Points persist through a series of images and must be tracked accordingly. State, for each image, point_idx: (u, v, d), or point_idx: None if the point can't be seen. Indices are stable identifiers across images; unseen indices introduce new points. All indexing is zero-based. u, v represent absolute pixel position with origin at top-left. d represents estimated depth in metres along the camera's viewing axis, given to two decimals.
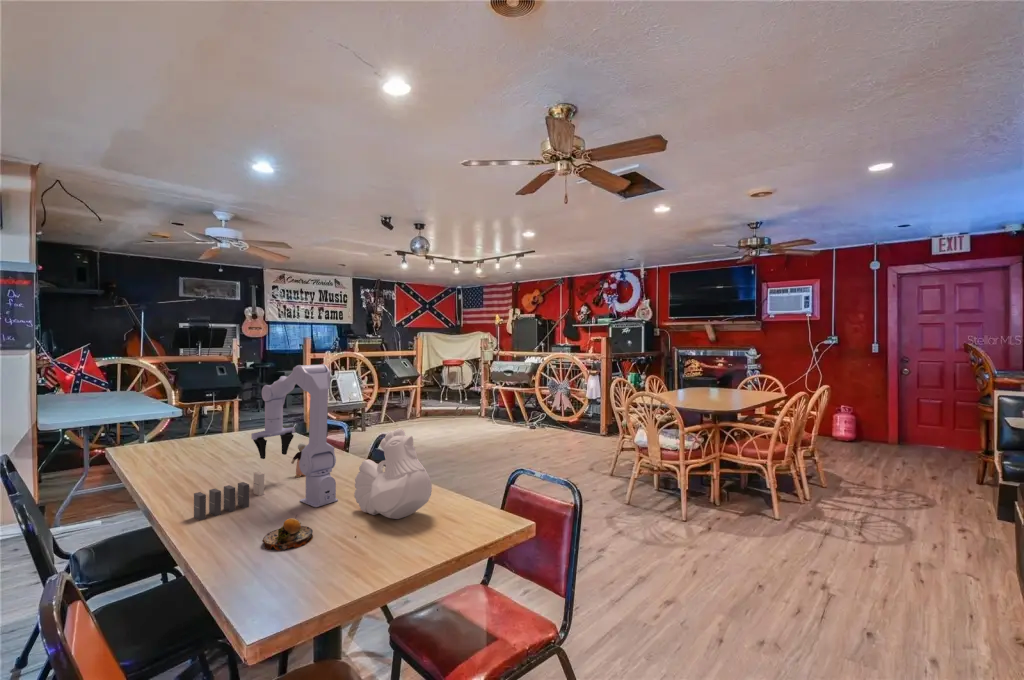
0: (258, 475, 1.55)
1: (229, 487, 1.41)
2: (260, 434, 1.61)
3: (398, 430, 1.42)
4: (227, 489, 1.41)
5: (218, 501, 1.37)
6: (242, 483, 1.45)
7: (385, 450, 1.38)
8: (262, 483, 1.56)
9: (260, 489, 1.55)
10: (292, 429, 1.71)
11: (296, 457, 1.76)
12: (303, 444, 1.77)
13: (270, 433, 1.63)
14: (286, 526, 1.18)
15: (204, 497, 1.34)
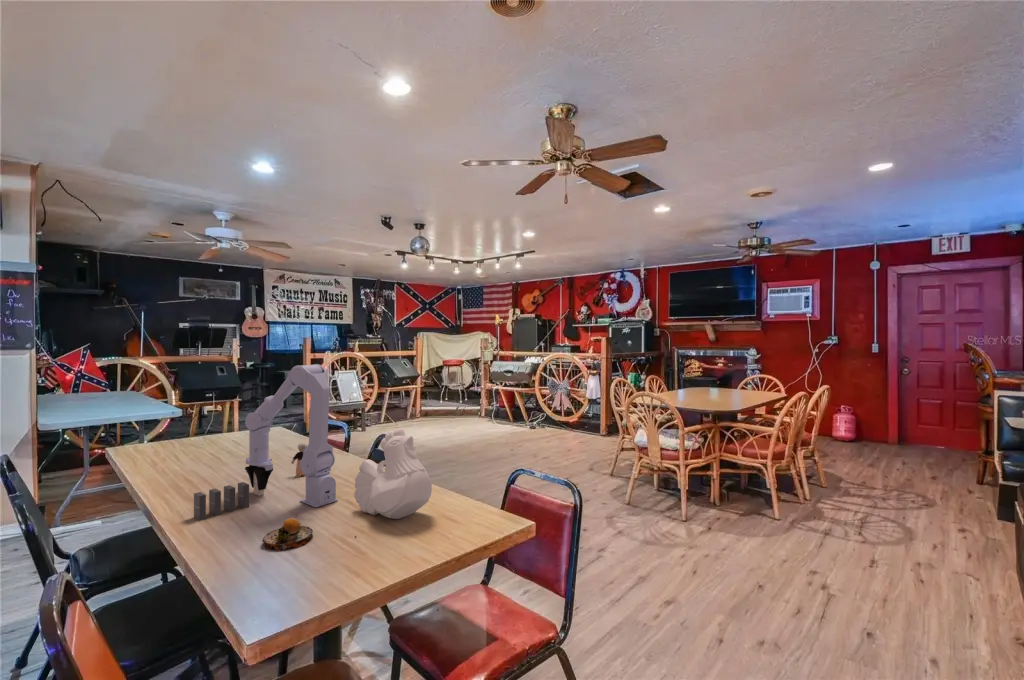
0: None
1: (229, 487, 1.41)
2: (247, 460, 1.59)
3: (398, 430, 1.42)
4: (227, 489, 1.41)
5: (218, 501, 1.37)
6: (242, 483, 1.45)
7: (385, 450, 1.38)
8: None
9: None
10: (265, 465, 1.52)
11: (296, 457, 1.76)
12: (303, 444, 1.77)
13: (248, 462, 1.56)
14: (286, 526, 1.18)
15: (204, 497, 1.34)
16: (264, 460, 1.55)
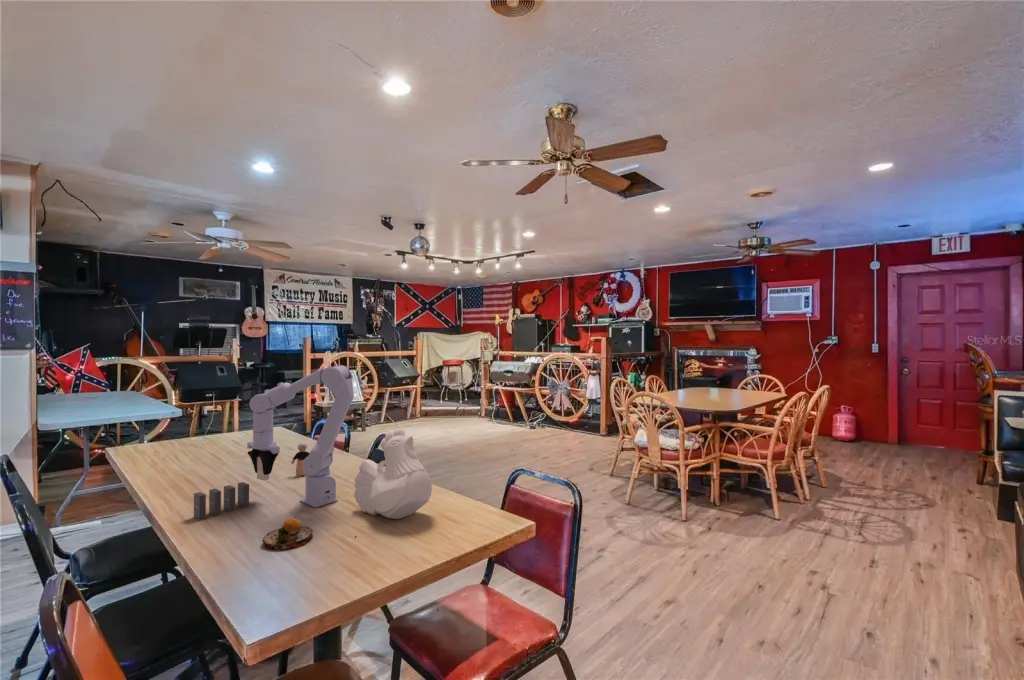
0: None
1: (229, 487, 1.41)
2: (249, 444, 1.52)
3: (398, 430, 1.42)
4: (227, 489, 1.41)
5: (218, 501, 1.37)
6: (242, 483, 1.45)
7: (385, 450, 1.38)
8: None
9: None
10: (271, 448, 1.46)
11: (296, 457, 1.76)
12: (303, 444, 1.77)
13: (251, 446, 1.49)
14: (286, 526, 1.18)
15: (204, 497, 1.34)
16: (269, 443, 1.49)
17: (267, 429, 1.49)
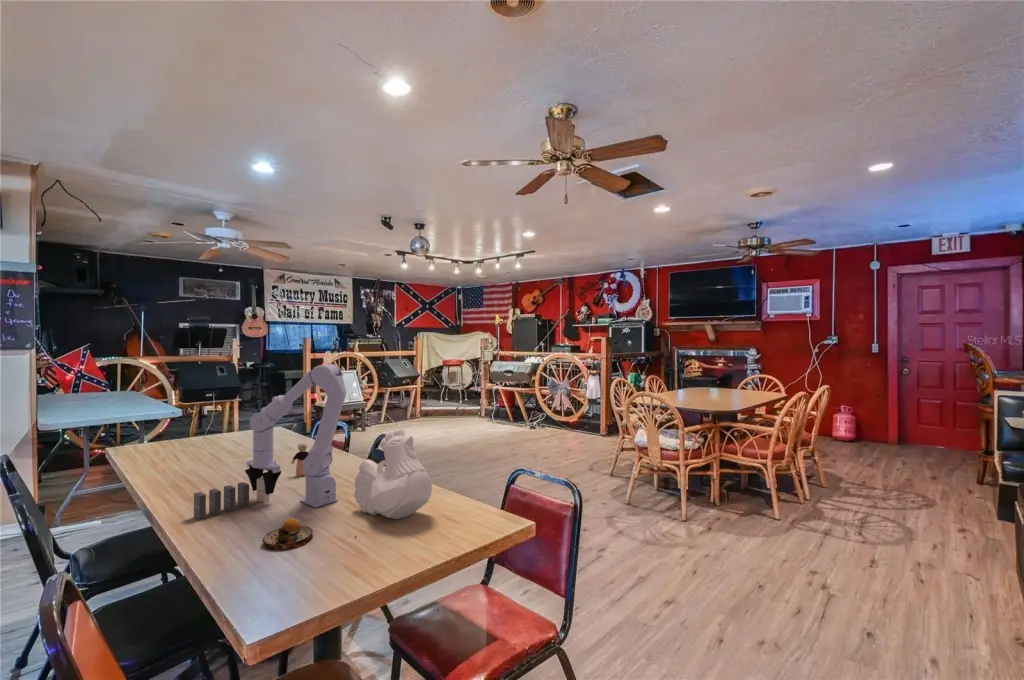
0: (263, 481, 1.48)
1: (229, 487, 1.41)
2: (249, 463, 1.51)
3: (398, 430, 1.42)
4: (227, 489, 1.41)
5: (218, 501, 1.37)
6: (242, 483, 1.45)
7: (385, 450, 1.38)
8: None
9: (265, 496, 1.48)
10: (272, 468, 1.46)
11: (296, 457, 1.75)
12: (303, 444, 1.77)
13: (251, 465, 1.49)
14: (286, 526, 1.18)
15: (204, 497, 1.34)
16: (269, 462, 1.49)
17: (267, 448, 1.48)
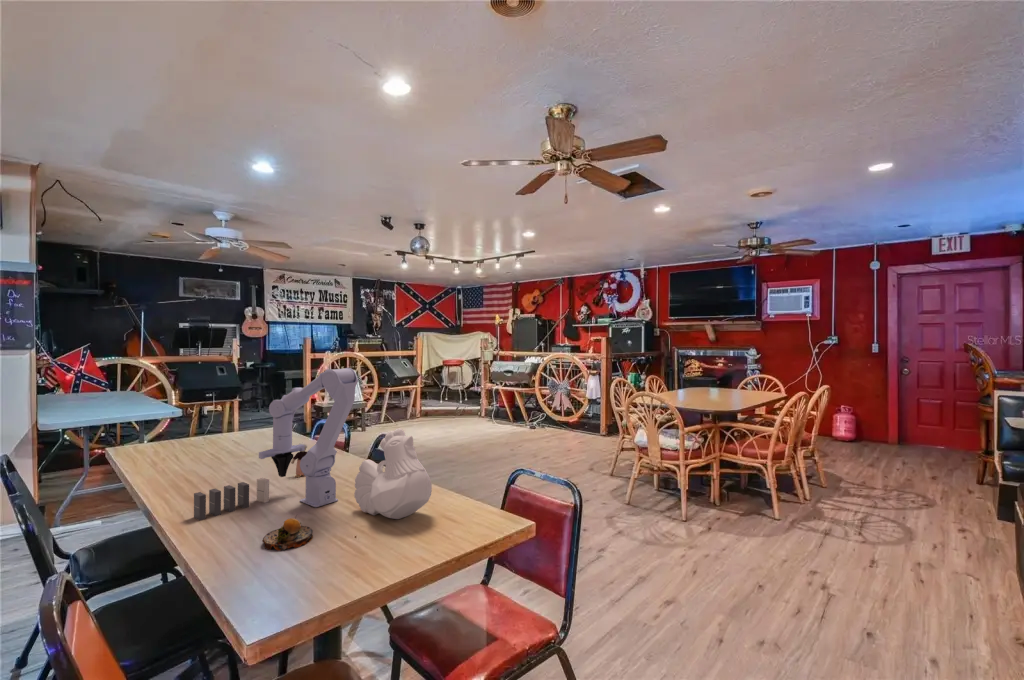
0: (263, 481, 1.48)
1: (229, 487, 1.41)
2: (268, 453, 1.50)
3: (398, 430, 1.42)
4: (227, 489, 1.41)
5: (218, 501, 1.37)
6: (242, 483, 1.45)
7: (385, 450, 1.38)
8: (267, 489, 1.49)
9: (265, 496, 1.48)
10: (302, 446, 1.59)
11: (296, 457, 1.76)
12: (303, 444, 1.77)
13: (279, 452, 1.52)
14: (286, 526, 1.18)
15: (204, 497, 1.34)
16: None
17: (284, 434, 1.53)
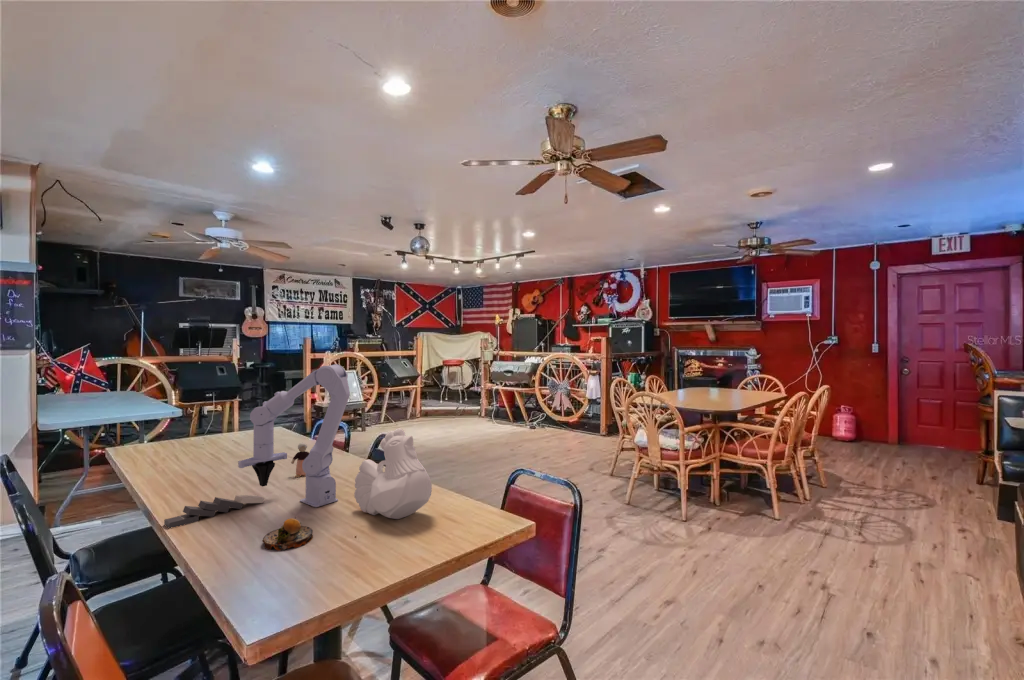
0: (241, 502, 1.43)
1: (202, 505, 1.35)
2: (248, 462, 1.45)
3: (398, 430, 1.42)
4: (203, 508, 1.35)
5: (200, 512, 1.34)
6: (216, 500, 1.39)
7: (385, 450, 1.38)
8: (252, 499, 1.45)
9: (257, 502, 1.46)
10: (284, 454, 1.54)
11: (296, 457, 1.76)
12: (303, 444, 1.77)
13: (259, 460, 1.47)
14: (286, 526, 1.18)
15: (173, 523, 1.28)
16: None
17: (268, 442, 1.48)
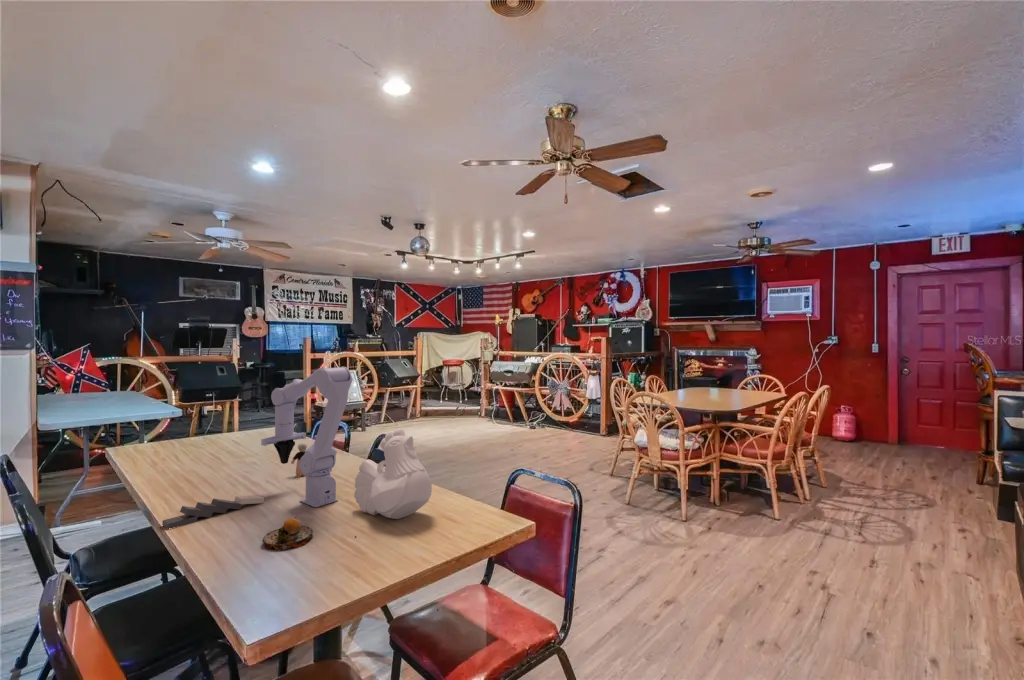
0: (240, 503, 1.43)
1: (199, 507, 1.35)
2: (270, 440, 1.53)
3: (398, 430, 1.42)
4: (200, 509, 1.35)
5: (197, 512, 1.33)
6: (214, 502, 1.39)
7: (385, 450, 1.38)
8: (251, 500, 1.45)
9: (257, 502, 1.46)
10: (303, 434, 1.63)
11: (296, 457, 1.76)
12: (303, 444, 1.77)
13: (281, 439, 1.55)
14: (286, 526, 1.18)
15: (171, 523, 1.28)
16: None
17: (284, 422, 1.56)
